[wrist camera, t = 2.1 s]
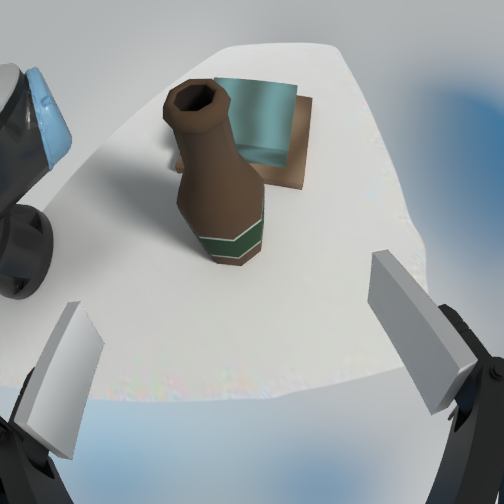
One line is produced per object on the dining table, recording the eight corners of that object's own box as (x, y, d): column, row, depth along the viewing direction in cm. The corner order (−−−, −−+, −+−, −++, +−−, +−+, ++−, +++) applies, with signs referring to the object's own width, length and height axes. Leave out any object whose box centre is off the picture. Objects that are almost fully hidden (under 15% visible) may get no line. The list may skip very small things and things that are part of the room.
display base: (178, 172, 39) (167, 151, 34) (207, 92, 43) (202, 69, 38) (301, 189, 38) (307, 168, 33) (311, 104, 42) (315, 79, 37)
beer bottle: (210, 276, 35) (126, 177, 12) (196, 218, 37) (122, 77, 14) (272, 258, 36) (292, 131, 13) (254, 201, 38) (246, 42, 15)
